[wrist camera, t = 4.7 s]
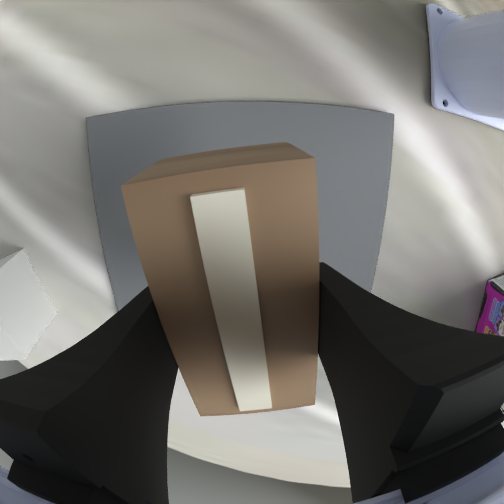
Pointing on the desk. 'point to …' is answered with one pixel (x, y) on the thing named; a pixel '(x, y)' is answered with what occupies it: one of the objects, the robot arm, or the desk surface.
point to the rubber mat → (245, 134)
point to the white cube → (21, 307)
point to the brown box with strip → (234, 272)
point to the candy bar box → (493, 310)
